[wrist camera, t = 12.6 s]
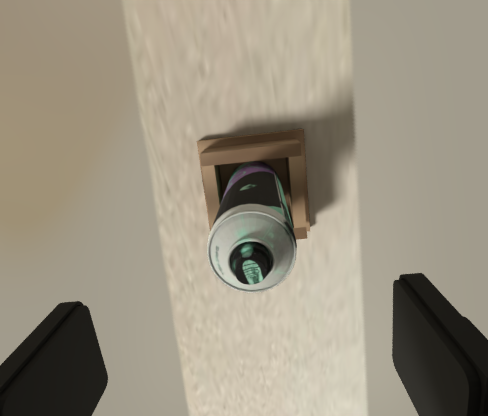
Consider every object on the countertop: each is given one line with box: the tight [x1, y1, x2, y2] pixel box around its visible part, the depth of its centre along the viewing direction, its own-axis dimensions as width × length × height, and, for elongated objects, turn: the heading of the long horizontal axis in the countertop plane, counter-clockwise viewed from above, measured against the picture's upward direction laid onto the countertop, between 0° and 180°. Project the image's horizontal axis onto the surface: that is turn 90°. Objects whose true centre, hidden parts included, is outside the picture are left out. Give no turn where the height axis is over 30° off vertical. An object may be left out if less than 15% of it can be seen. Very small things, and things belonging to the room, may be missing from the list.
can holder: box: [197, 129, 310, 239], centre depth 36 cm, size 11×11×5 cm
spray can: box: [208, 161, 297, 293], centre depth 28 cm, size 6×6×20 cm
